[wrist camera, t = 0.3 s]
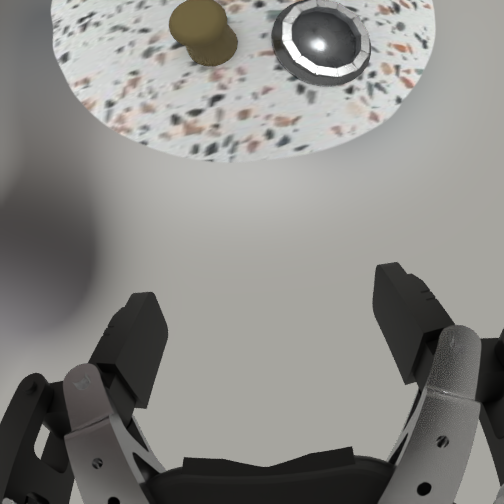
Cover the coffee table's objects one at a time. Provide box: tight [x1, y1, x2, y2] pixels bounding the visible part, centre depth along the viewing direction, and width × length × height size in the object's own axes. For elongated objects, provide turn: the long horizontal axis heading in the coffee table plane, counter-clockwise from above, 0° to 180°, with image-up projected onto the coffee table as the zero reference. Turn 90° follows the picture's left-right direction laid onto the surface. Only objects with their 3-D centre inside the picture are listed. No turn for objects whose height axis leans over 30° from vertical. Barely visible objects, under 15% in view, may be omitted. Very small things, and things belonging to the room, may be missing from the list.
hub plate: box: [272, 0, 371, 86], centre depth 26 cm, size 12×12×3 cm
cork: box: [169, 0, 238, 66], centre depth 22 cm, size 6×6×11 cm
